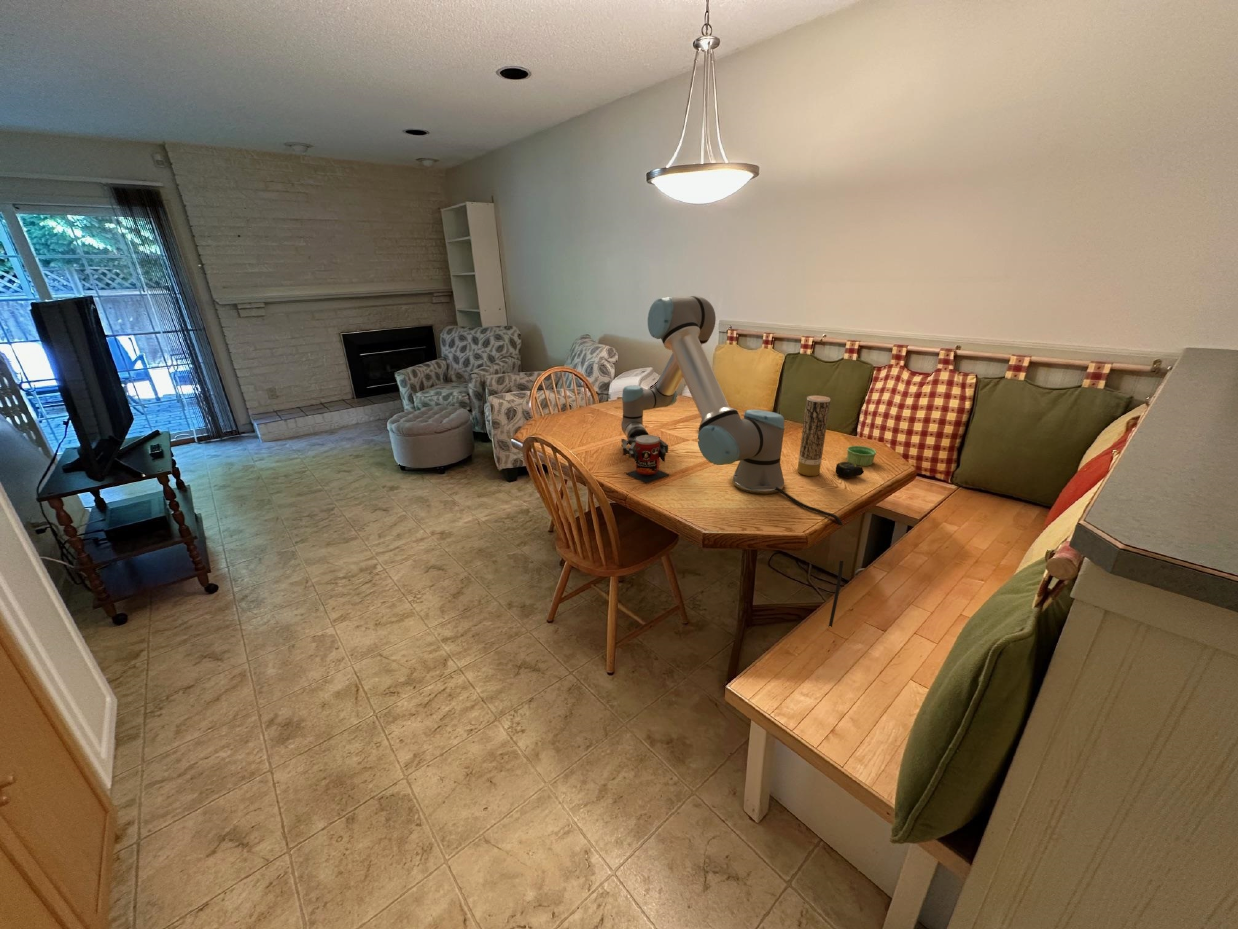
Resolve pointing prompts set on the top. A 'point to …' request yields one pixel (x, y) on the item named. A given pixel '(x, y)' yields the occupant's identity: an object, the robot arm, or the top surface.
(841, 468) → the tape measure
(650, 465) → the canned food
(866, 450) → the ramekin
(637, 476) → the coaster
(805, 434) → the paper tube
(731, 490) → the top surface
